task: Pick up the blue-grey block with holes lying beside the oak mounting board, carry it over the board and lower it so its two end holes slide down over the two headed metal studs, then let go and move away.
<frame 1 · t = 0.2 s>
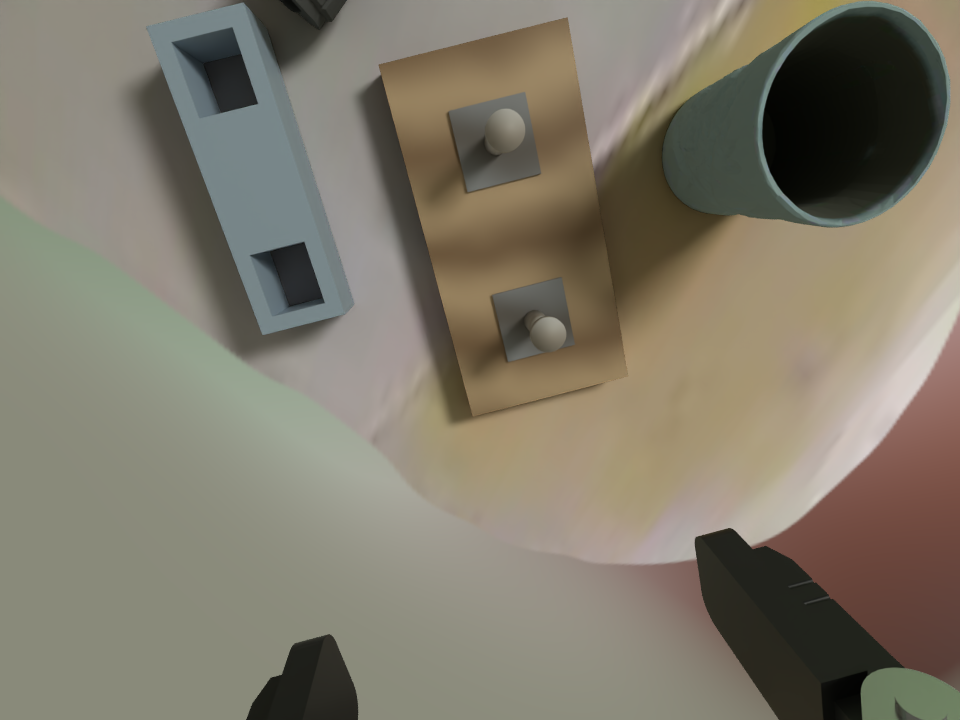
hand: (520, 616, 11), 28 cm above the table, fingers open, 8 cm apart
blue-grey block with holes: (274, 186, 34), on the table
mount board: (511, 235, 36), on the table
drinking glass: (721, 151, 36), on the table
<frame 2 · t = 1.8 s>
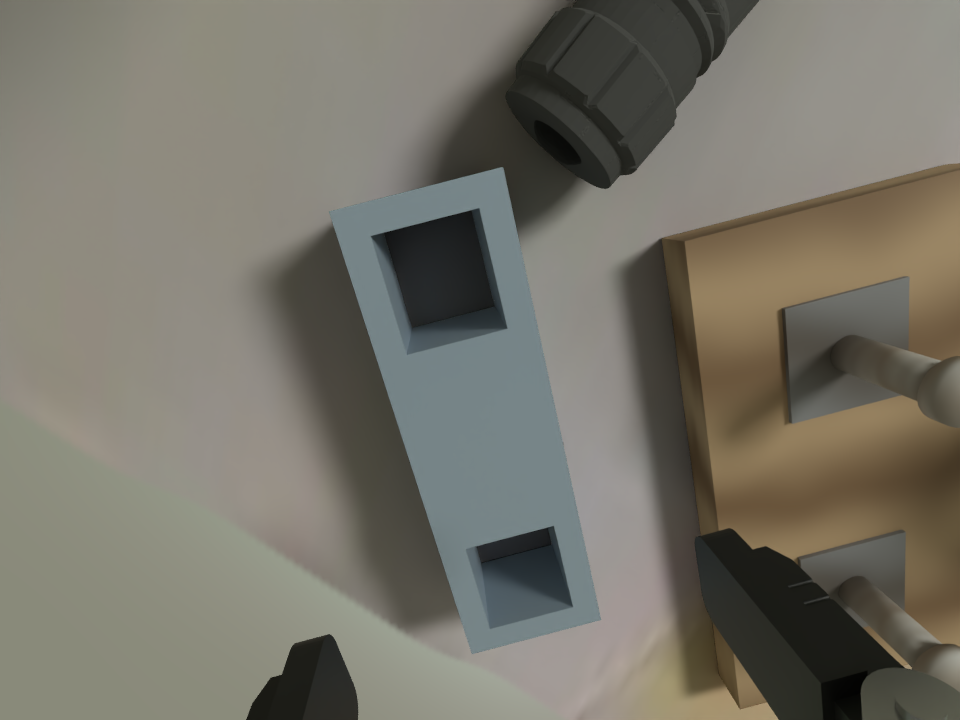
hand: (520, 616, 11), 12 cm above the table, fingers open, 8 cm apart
blue-grey block with holes: (476, 404, 22), on the table
mount board: (815, 456, 24), on the table
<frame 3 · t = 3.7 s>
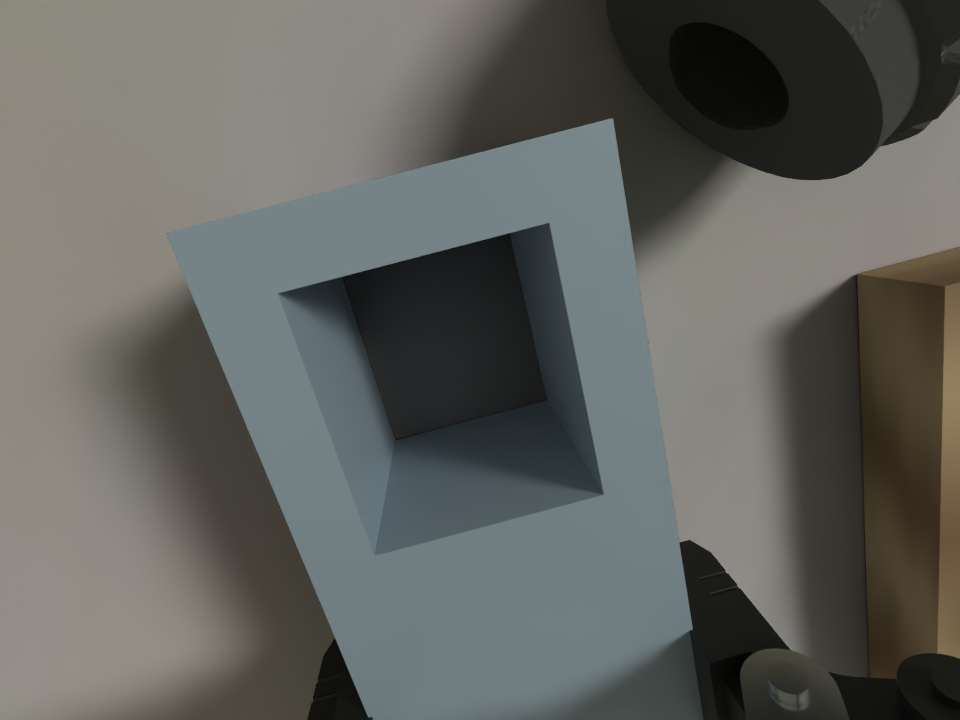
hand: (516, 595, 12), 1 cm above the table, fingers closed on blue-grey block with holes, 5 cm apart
blue-grey block with holes: (511, 566, 12), on the table, touching gripper
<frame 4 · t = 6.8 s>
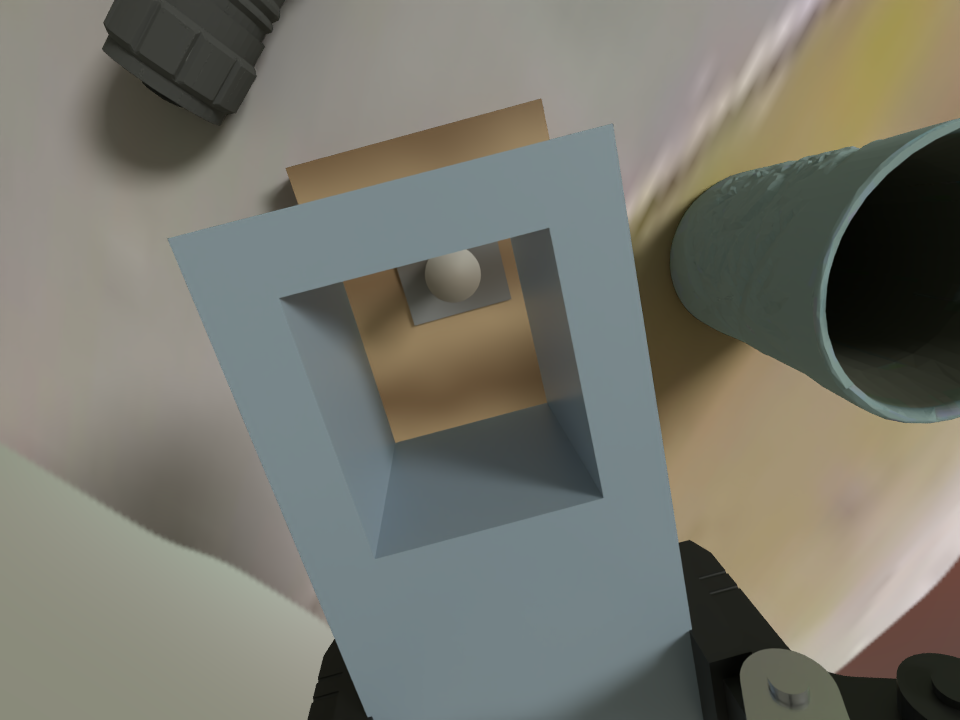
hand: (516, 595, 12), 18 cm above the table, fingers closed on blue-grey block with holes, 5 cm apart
blue-grey block with holes: (511, 567, 12), point 17 cm above the table, touching gripper
mount board: (477, 364, 28), on the table
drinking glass: (745, 253, 28), on the table
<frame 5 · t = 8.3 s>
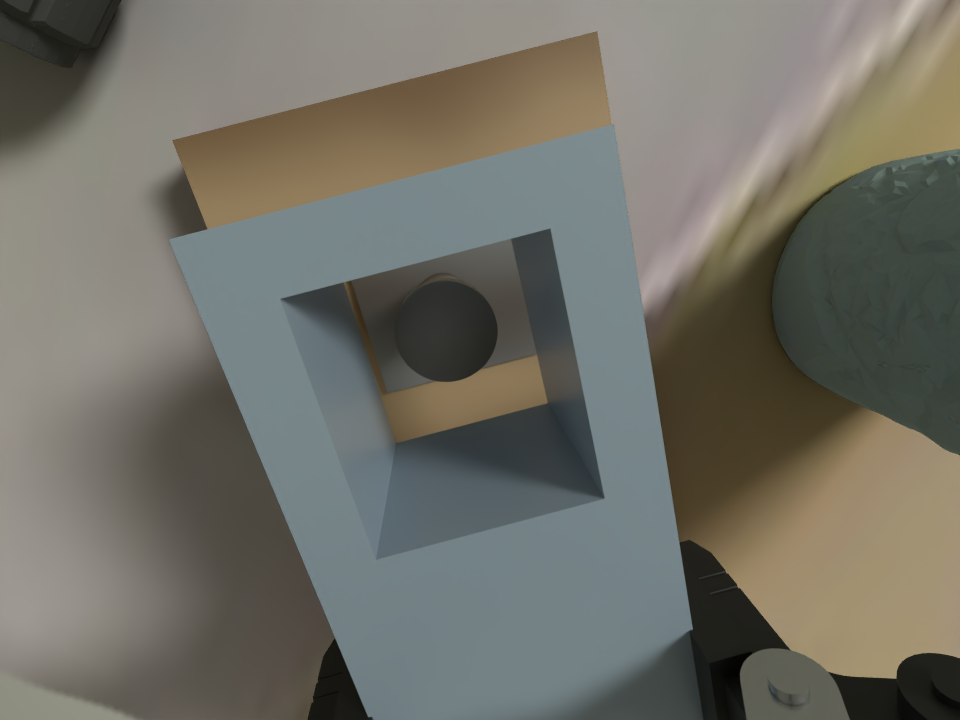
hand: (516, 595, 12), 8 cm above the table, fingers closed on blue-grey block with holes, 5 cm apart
blue-grey block with holes: (512, 568, 12), point 7 cm above the table, touching gripper
mount board: (483, 440, 19), on the table
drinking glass: (881, 281, 19), on the table
when the fingers open (4 cm above the table, at t = 9.9 s): blue-grey block with holes drops 1 cm, resting on mount board.
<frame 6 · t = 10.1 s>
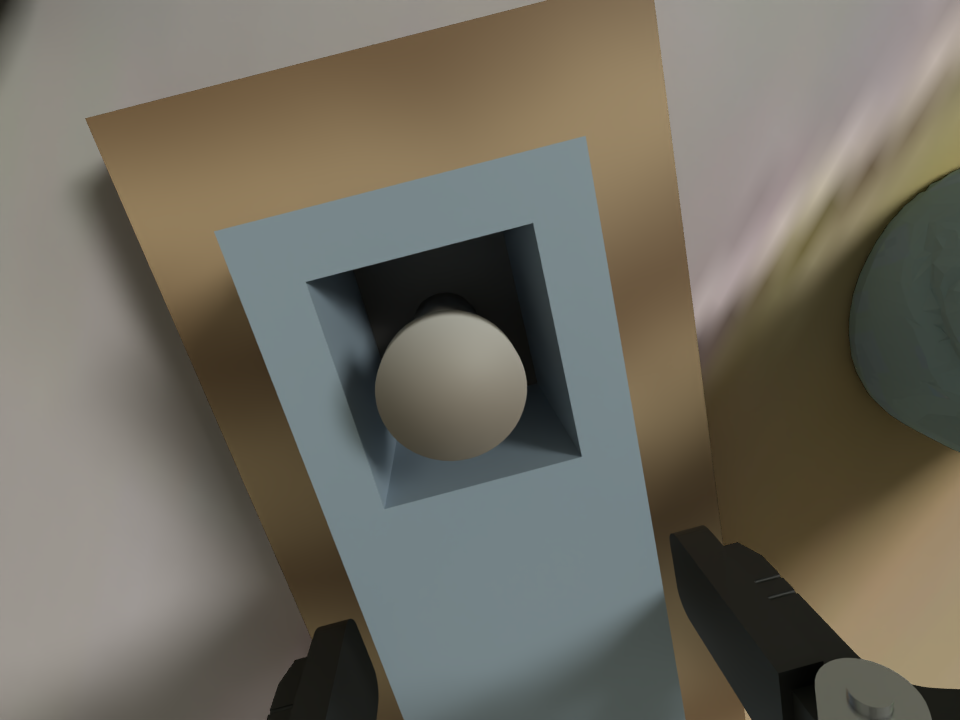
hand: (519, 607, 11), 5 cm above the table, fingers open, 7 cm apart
blue-grey block with holes: (505, 535, 14), point 2 cm above the table, touching mount board
mount board: (494, 492, 16), on the table
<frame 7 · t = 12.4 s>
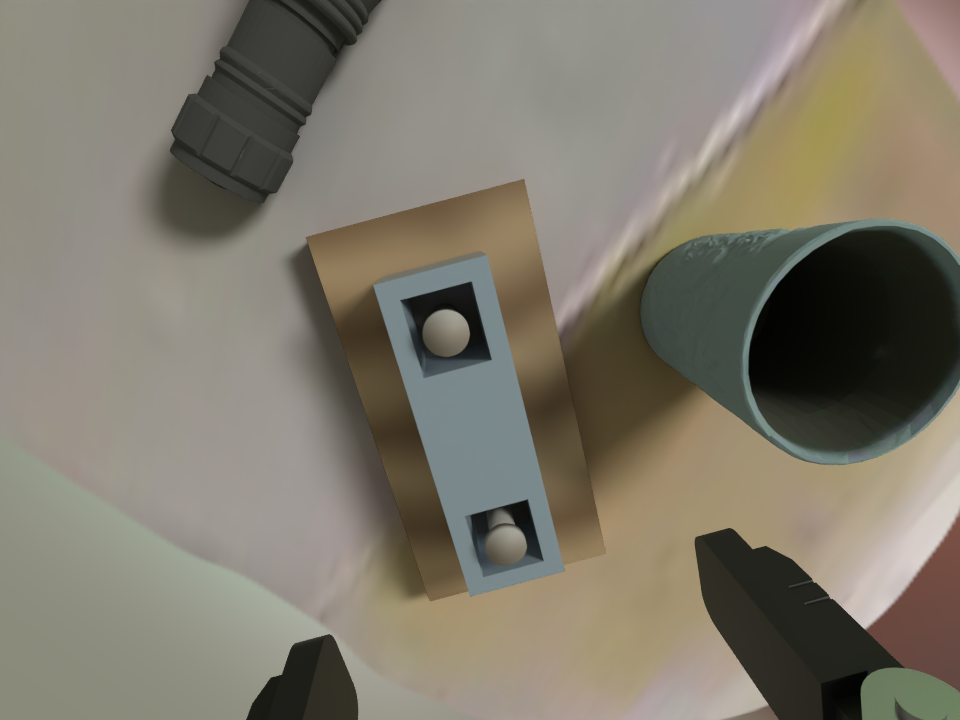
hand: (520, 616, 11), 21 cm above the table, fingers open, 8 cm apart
blue-grey block with holes: (473, 413, 30), point 2 cm above the table, touching mount board
mount board: (470, 401, 32), on the table
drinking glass: (707, 304, 32), on the table
flashlight: (307, 53, 27), on the table
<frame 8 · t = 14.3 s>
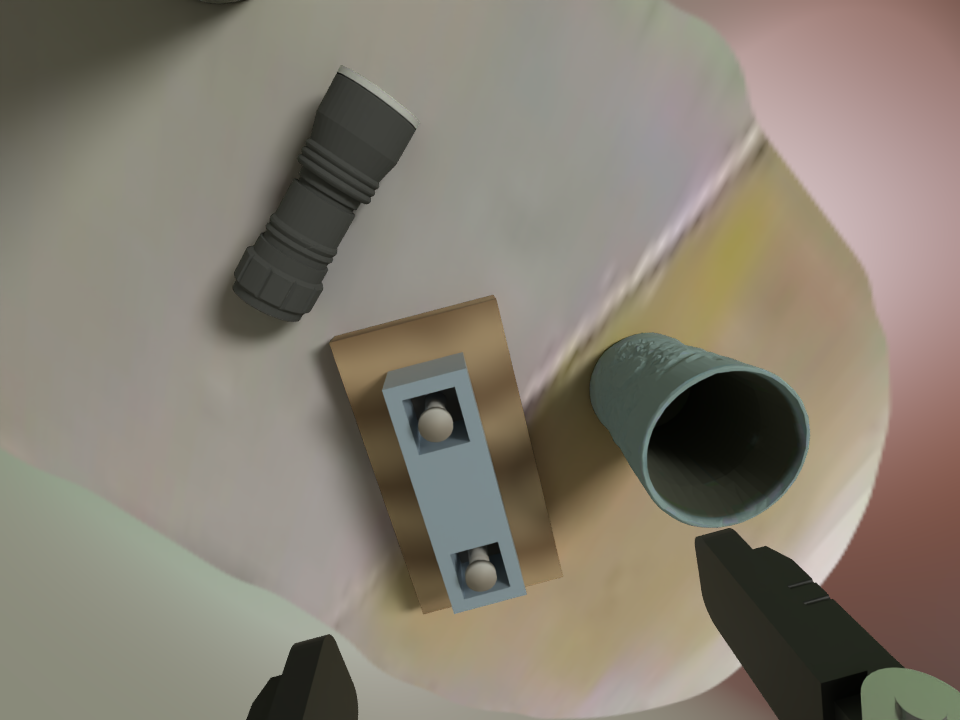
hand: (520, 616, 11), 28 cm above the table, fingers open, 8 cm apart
blue-grey block with holes: (457, 471, 39), point 2 cm above the table, touching mount board
mount board: (455, 458, 41), on the table
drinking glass: (643, 383, 40), on the table
flashlight: (331, 201, 35), on the table
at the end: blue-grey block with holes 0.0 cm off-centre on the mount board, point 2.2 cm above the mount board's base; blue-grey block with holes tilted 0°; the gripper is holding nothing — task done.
